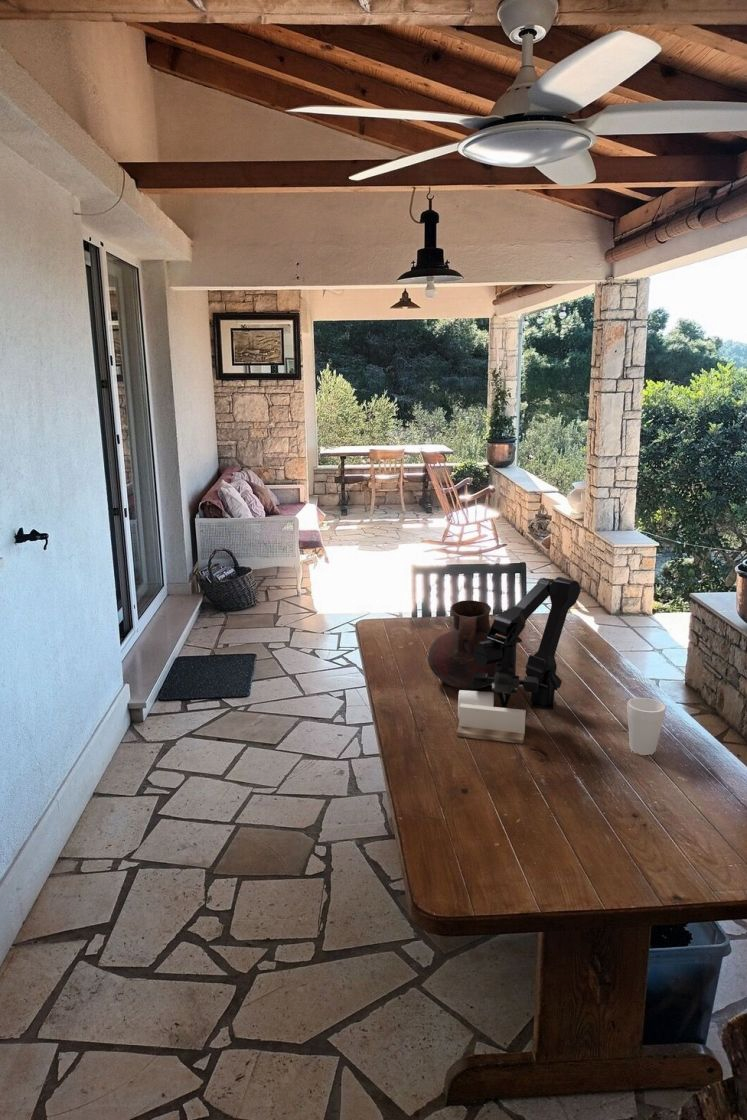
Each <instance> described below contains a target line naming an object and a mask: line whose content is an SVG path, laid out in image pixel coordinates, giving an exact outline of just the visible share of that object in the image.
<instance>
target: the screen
mask: <svg viewBox="0 0 747 1120" xmlns="http://www.w3.org/2000/svg"><path fill="white" fill-rule="evenodd" d="M526 713H527V711H526V709H517V708H507V707H506V708H502V707H499V706H498V707H497V706H493V707H490V706H480V705H471V704H460V707H459V718H458V727H457V731H456V737H460V738H470V739H477V740H478V739H479V740H487V741H495V742H496V741H497V742H504V743H513V744H521V745H522V744H524V739H525V734H526V733H525V732H526Z"/></svg>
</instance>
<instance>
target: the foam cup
mask: <svg viewBox="0 0 747 1120" xmlns="http://www.w3.org/2000/svg"><path fill="white" fill-rule="evenodd" d="M666 709H667V708H666V705H665V703H662V702H661V701H659V700H656V699H653V698H648V697H634V698H631V699H630V698H629V700H628V701H627V703H626V712H627V722H628V740H629V742H628V743H629V750H630V749H631V750H630V751H631V752H632V751H633V752H634V753H633V752H632V753H633V754H635V753H638V754H641V755H649V754H653V753H654V752H655V753H656V751H657V746H658V742H659V739H660V734H661V730H662V726H663V722H664V718H665V716H666ZM641 755H640V756H641Z"/></svg>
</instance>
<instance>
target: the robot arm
mask: <svg viewBox="0 0 747 1120" xmlns="http://www.w3.org/2000/svg"><path fill="white" fill-rule="evenodd" d="M581 588H582V587H581V585H580V583H579V581H577V580H573V579H570V578H567V577H563V576H558V577H556V578H547V577H541V578H539V579H538V580H537V582H536V584H535V585H534V586H533V587H532V589H530V590H529V591H528V592H527V593H526V594H525V595H524V596H523V597H522V598H521V599H520V600H519V601H518V602H517V603H516V604H515V605H514V606H513V607H512V608H509V609H505V610H503V611H502V612H500V613H499V614H498V615H497V616H495V618H494V620H493V622H492V624H491V625H490V630H489V631H488V633H487V635H486V637H485V638H486V639H488V641H482V642H479V646H478V647H476V648H475V649H474V652H473V658H474V661H475V662H476V664H477V665H478V666H480V667H483V666H487V665H490V664H494V663H496V667H495V673H494V677H487V673H483V672H475V673H474V674H473V677H472V683H471V686H472V687H475V688H479V689H483V688H485V687H486V686H485V683H486V684H490V685H491V691H492V692H493V693H495V694H496V695H497V697H498V699H499V703H500V705H501V708H507V707H508V704H509V701H510V699H511V697H512V696H513V694H517V693H518V690H519V688H520V687H521V688H523V691H525V693H530V703H531V707H532V708H540V709H551V710H553V709H554V710H555V700H556V699H555V693H556V692H555V691H558V689H560V688H561V686H562V683H563V680H562V679H561V678H560V677H559V676H558V675H557V674H556V673H557V667H558V666H557V661H556V657H555V655H556V652H557V649H558V645H559V641H560V638H561V636H562V633H563V629H564V625H565V622H566V618H567V615H568V611H569V610H570V609H571V608H572V607H573V606H574V605H575V604H576V603H577V602H578V601H577V600H578V598H579V596H580V594H581V592H582V591H581V590H582V589H581ZM548 598H549V600H550V603H551V606H550V610H549V613H548V616H547V620H546V623H545V627H544V631H543V633H542V635H541V636H542V637H541V640H540V643H539V646H538V649H537V651H536V652H535V653H534V654H533V655H532V654H530V655H529V656H528V658H527V663H526V665H525V676H524V679H520V676H519V675H516V673H517V672H516V670H517V669H516V668H517V667H516V666H517V644H519V643H523V640H522V638H521V637H519V636H520V635H521V633H522V632H523V630H524V629H525V627H526V622H527V619H528V618H529V617H530V616H532V614H533V613H534V612H535V611H536V610H537V609H538V608H539V607H540V606H541V605H542V604H543V603H544V602H545V601H546V600H547V599H548ZM496 634H497V635H496ZM484 686H485V687H484Z"/></svg>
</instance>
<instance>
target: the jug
mask: <svg viewBox="0 0 747 1120" xmlns="http://www.w3.org/2000/svg"><path fill="white" fill-rule="evenodd" d="M450 611H451V613H452V615H453V616H452V617H453V627H452V629H451V631H448V632H445V633H443V634H442V635H441V634H440V635H439V636H438V637H436V639H434V641H433V642H432V644H431V645H430V647H429V651H428V654H427V661H428V666H429V669H430V670H431V671H432V673H433V675H435V676H436V677H437V678H438V679H439V680H440V681H442V682H444V683H445V684H446V685H448V686H450V687H453V688H457V689H459V690H478V689H480V688H475V687H472V686H471V683H472V677H473V674H474V673H475V672H483V673H487V677H494V673H495V667H496V663H494V664H490V665H487V666H483V667H480V666H478V665H477V664H476V662H475V661H474V658H473V652H474V649H475V648H476V647H478V646H479V642H482V641H488V639H486V638H485V637H486V635H487V633H488V631H489V630H490V628H491V623H490V612H491V611H492V608H491V606H490V605H489V604H488V603H487V602H484V601H478V600H471V599H470V600H467V599H466V600H459V601H457V602H455V603H454V604H452V605H451V607H450ZM488 686H491V684H486V683H485V686H484V687H483V688H485V687H488Z"/></svg>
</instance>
